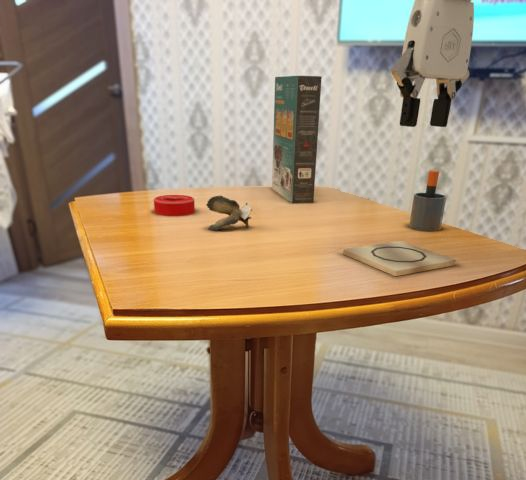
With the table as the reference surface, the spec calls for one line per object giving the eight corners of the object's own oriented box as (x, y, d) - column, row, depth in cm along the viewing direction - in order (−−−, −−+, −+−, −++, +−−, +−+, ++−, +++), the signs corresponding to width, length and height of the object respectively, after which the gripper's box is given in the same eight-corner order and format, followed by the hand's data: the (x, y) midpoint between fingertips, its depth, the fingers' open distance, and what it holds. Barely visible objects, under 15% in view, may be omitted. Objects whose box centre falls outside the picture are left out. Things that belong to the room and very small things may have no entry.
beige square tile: (399, 245, 100) (400, 240, 100) (455, 265, 89) (456, 259, 89) (342, 254, 94) (343, 248, 93) (395, 276, 83) (396, 270, 83)
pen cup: (424, 222, 118) (429, 191, 115) (447, 229, 113) (453, 197, 110) (402, 225, 115) (407, 193, 112) (424, 232, 110) (430, 199, 107)
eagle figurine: (241, 216, 115) (203, 210, 112) (252, 192, 110) (211, 185, 106) (246, 241, 111) (207, 236, 108) (257, 218, 106) (216, 212, 102)
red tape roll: (160, 217, 118) (159, 203, 116) (150, 208, 125) (149, 195, 124) (200, 214, 121) (199, 200, 120) (188, 206, 129) (187, 193, 128)
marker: (425, 223, 115) (434, 170, 110) (432, 225, 114) (441, 171, 108) (418, 224, 114) (427, 170, 109) (425, 226, 113) (434, 171, 108)
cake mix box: (313, 202, 137) (321, 76, 123) (291, 203, 136) (297, 75, 122) (290, 188, 156) (296, 77, 142) (271, 188, 155) (275, 76, 141)
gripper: (420, -22, 66) (398, 128, 75) (507, -7, 74) (478, 128, 82) (382, -15, 72) (365, 124, 80) (466, -1, 80) (443, 124, 88)
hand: (423, 125), depth 81 cm, fingers open, 5 cm apart
